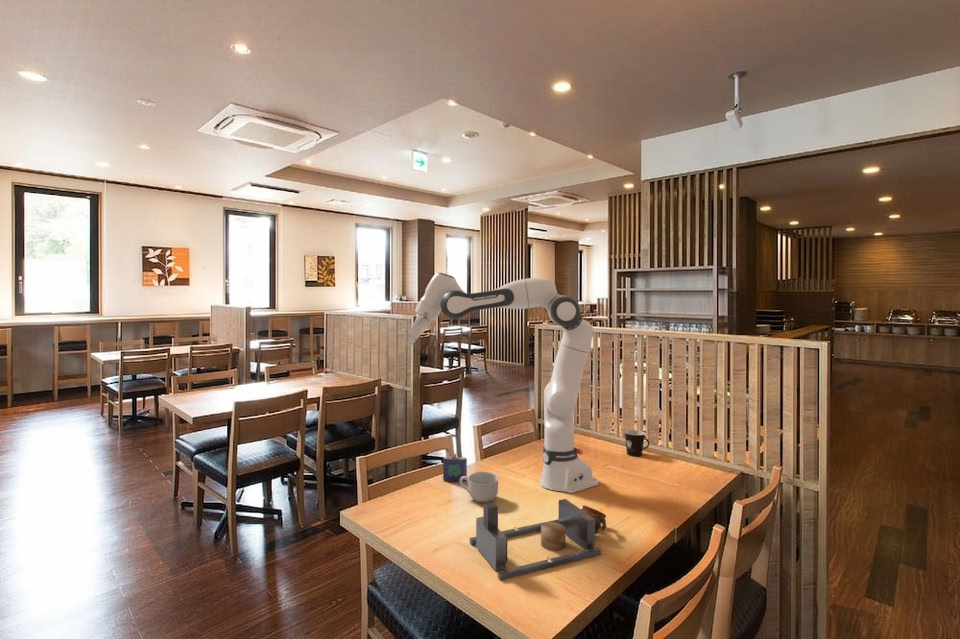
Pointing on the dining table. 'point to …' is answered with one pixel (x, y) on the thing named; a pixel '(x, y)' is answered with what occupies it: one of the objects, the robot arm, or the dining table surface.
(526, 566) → the press frame
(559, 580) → the dining table surface
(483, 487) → the teacup
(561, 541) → the brown short cylinder
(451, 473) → the flask
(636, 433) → the coffee mug
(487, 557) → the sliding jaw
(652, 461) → the dining table surface
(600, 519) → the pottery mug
